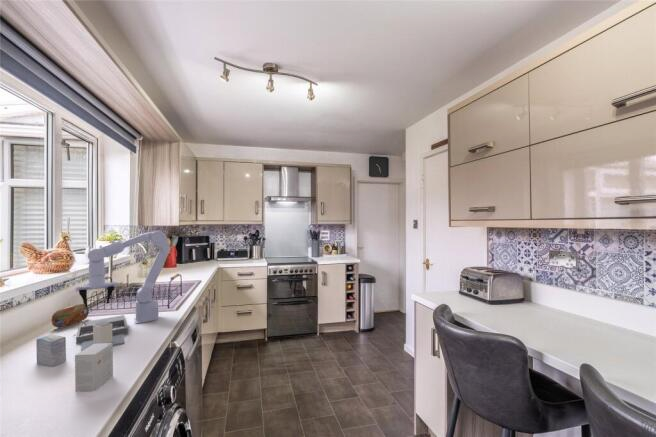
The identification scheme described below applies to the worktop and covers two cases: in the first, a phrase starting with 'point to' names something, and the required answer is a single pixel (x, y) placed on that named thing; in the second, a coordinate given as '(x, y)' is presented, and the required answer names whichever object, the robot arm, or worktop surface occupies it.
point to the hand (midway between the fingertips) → (97, 304)
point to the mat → (115, 340)
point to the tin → (70, 316)
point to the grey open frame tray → (89, 324)
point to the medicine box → (51, 350)
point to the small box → (93, 366)
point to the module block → (102, 332)
